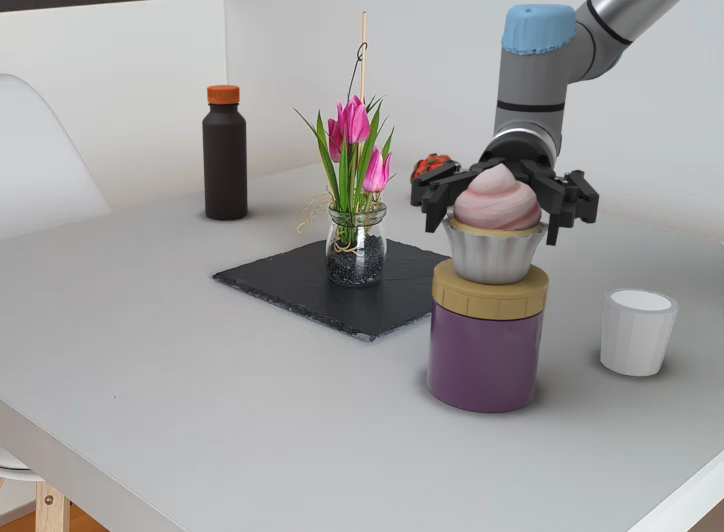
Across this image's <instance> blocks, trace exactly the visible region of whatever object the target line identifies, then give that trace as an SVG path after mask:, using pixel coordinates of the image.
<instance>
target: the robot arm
mask: <svg viewBox="0 0 724 532" xmlns="http://www.w3.org/2000/svg"><path fill="white" fill-rule="evenodd" d="M680 1H681V0H585V1H584V2H583V3H582V4H581V5H579V6H578V7H577V8H576V10H575V9H574V7H572V6H571V5H569V4H555V3H552V4H551V3H529V4H528V3H527V4H525V3H523V4H515V5H513V6H511V7H510V8H509V9H508V10H507V12H506V15H505V21H504V28H503V34H502V36H501V40H500V44H501V48H500V49H501V50H500V60H499V61H500V62H499V74H498V87H497V97H496V98H497V99H496V105H495V106H496V107H495V115H494V124H493V125H494V126H493V135H492V138H491V140H490V141H489V142H488V144H487V145H486V147H485V149H484V150H483V152H482V153H481V155H480V157H479V159H478V162H476V163H473V164H471V165H470V166H469V168H462V167H461V168H460V165H461V163H460V164H456V162H455V161H456V160H453V159H451V160H445V161H444V162H443V165H441V166H439V167H437V168H435V169H433V170H430V171H428V172H426V173H424V174H422V175H420V176H417V177H415V178H413V179H412V184H411V185H410V186H411V187H410V203H409V204H410V205H411V206H412V207H416V208H419V207H421V209H420V212H421V214H425V227H424V232H425V233H426V234H435V232H436V231H437V229H438V228H439V226H440V224H442V222H441V220H442V219H445V217H446V216H447V213H448V208H449V207H454V203H455V201H456V199H457V198H458V197H459V196H460V195H461V193H462V192H464V191H465V190H467V189H468V186H469V185H470V183H471V182H472V181H473V180H474V179H475V178H476V177H477V176H478V175H479V174H481V173H482V172H484V171H485V170H487V169H491V168H493V167H495V166H497V165H499V164H501V163H502V164H503V165H505V166H506V167H507V168H508V169H509V171H510V172H511V173H512V175H513V176H514V178H515V180H516V181H520V182H522V183H524V184H526V185H528V186H529V187H530V188H531V189H532V190H533V191H534V193H535V194H536V198H537V201H538V203H539V205H540V207H541V210H543V211H545V212H546V213H547V214H549V218H548V224H549V225H548V230H547V232H546V242H545V245H546V246H550V247H551V246H552V247H556V246H557V240H558V236H559V230H560V228H564V229H572V228H574V226H575V220H576V219H580V221H581V222H583V223H585V224H589V225H591V224H595V223H596V222H597V216H598V211H599V203H600V197H601V196H600V194H599V193H598V191H597V190H595V188H594V187H593V186H592V184H590V183H589V182H588V181H587V180H586V178H585V170H584V171H583V170H581V169H573V170H571V171H570V172H564V175H563V176H557V173H556V171H555V167H556V162H557V159H558V157H559V156H560V154H561V149H562V143H563V133H562V131H563V123H564V117H565V116H564V115H565V107H566V100H567V92H568V85H571V84H576V83H579V82H586V81H591V80H595V79H597V78H600V77H601V76H602V77H603V75H604V74H606V73H608V72H609V71H611V70H612V69H613V68H614V67H616V65H617V64H618V63H619V62H620V60H621V58H622V56H623V53H624V52H625V51H626V50H627V49H628V48H629V47H630V46H632V44H633V43H634V42H635V41H636V40H637V39H639V37H640V36H642V35H643V34H644V33H646V31H648V29H650V28H651V27H652V26H653V25H654V24H655V23H656V22H658V21H659V20H660V19H661V18H662V17H663V16H665V15H666V14H667V13H668V12H669V11H670V10H671V9H672V8H673V7H675V6H676V5H677V4H678V3H679V2H680Z"/></svg>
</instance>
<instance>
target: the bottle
mask: <svg viewBox="0 0 724 532" xmlns="http://www.w3.org/2000/svg"><path fill="white" fill-rule="evenodd" d="M240 91H241V90H240V87H239V86H238V85H233V84H232V85H231V84H217V85H216V84H215V85H209V86H207V87H206V96H207V97H206V98H207V100H206V101H207V106H209V112H208V113H207V114H206V115H205V117H204V118H203V119H202V121H201V129H202V130H201V131H202V155H203V158H202V160H203V183H204V184H203V187H204V212H205V216H207V217H208V218H210V219H212V220H219V221H231V220H232V221H233V220H238V219H239V220H240V219H242V218H244V217H246V216H247V214H248V211H249V210H248V209H249V207H248V203H249V202H248V153H247V152H248V151H247V150H248V149H247V147H248V146H247V143H248V142H247V120H246V119H245V118H246V117H244V116H243V114H241V113H240V111H239V107H238V106H240V102H241V96H240V93H241V92H240Z"/></svg>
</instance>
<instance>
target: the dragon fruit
mask: <svg viewBox="0 0 724 532" xmlns="http://www.w3.org/2000/svg"><path fill="white" fill-rule="evenodd" d="M445 160H452V158H451V156H450V155H447V154H439V155H438V153H437V152H433V153H429V154H428V155H427V157H426V158H425V159H419V160H418V161H416V162H415V164H414V165H413V170H412V173H411V174H410V177H409V184H410V185H412V179H413V178H415V177H417V176H420V175H422V174H424V173H426V172H428V171H430V170H433V169H435V168H437V167H439V166H441V165H443V162H444V161H445ZM454 161H455V162H456V164H460V168H462V165H461V163H460V162H459V161H457V160H454Z"/></svg>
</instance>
